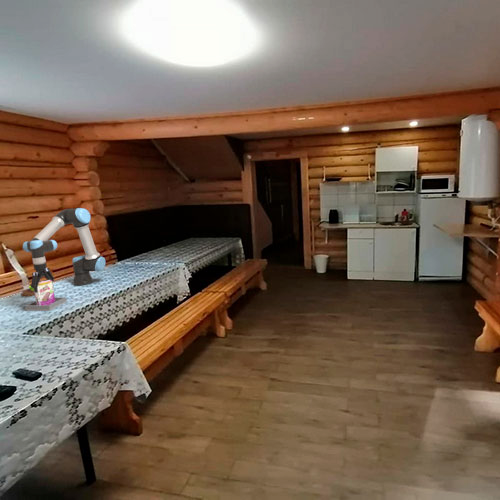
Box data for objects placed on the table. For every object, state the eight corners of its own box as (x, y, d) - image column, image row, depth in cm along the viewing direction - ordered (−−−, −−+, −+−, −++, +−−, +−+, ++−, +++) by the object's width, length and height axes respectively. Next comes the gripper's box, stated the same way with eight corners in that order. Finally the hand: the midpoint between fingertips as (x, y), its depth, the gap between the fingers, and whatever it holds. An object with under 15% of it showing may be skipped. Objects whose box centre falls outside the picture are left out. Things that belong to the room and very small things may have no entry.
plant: (49, 287, 314) (46, 274, 312) (51, 293, 298) (49, 279, 296) (20, 292, 304) (18, 279, 302) (21, 298, 287) (19, 284, 285)
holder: (43, 302, 273) (43, 297, 272) (66, 301, 270) (66, 297, 269) (25, 310, 255) (24, 305, 255) (49, 310, 252) (49, 305, 252)
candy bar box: (38, 307, 257) (34, 284, 254) (36, 306, 260) (32, 283, 257) (56, 303, 264) (52, 280, 261) (53, 302, 268) (50, 279, 265)
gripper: (47, 259, 270) (51, 288, 274) (21, 268, 245) (26, 299, 250) (56, 259, 268) (61, 288, 272) (31, 267, 244) (37, 299, 248)
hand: (44, 293), depth 261 cm, fingers open, 13 cm apart
